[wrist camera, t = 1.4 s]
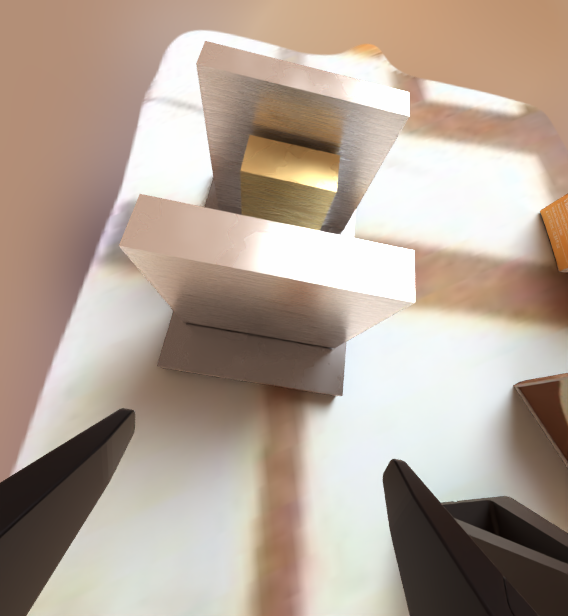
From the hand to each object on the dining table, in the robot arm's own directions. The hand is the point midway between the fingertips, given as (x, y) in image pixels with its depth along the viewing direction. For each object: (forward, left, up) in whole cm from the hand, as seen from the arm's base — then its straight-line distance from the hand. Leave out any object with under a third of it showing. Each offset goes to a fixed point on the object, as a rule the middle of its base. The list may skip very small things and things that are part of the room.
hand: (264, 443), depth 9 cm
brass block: (+9, +12, -11) cm, 19 cm away
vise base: (+7, +10, -12) cm, 18 cm away
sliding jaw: (+4, +6, -11) cm, 13 cm away
